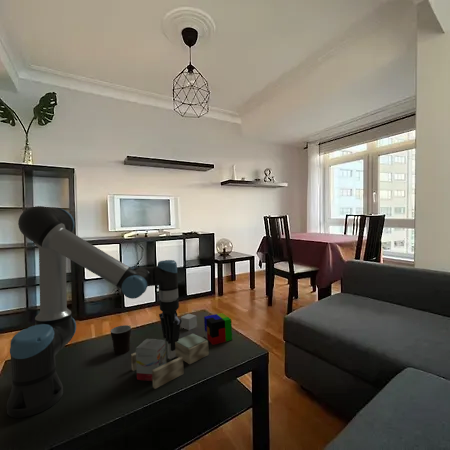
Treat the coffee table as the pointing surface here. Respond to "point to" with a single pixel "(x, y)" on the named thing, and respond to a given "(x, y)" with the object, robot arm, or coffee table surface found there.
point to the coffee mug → (121, 339)
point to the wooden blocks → (178, 359)
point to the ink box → (150, 357)
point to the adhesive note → (189, 321)
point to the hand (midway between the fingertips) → (171, 357)
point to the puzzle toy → (218, 328)
